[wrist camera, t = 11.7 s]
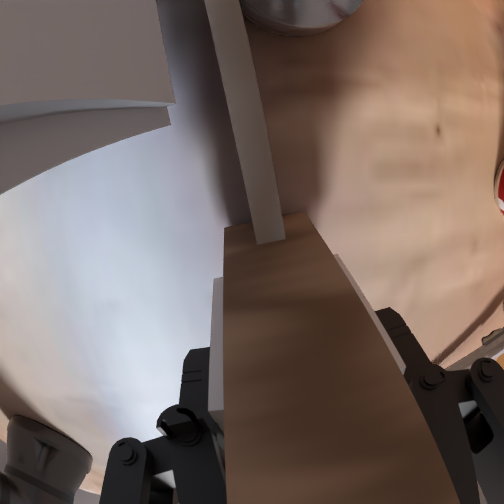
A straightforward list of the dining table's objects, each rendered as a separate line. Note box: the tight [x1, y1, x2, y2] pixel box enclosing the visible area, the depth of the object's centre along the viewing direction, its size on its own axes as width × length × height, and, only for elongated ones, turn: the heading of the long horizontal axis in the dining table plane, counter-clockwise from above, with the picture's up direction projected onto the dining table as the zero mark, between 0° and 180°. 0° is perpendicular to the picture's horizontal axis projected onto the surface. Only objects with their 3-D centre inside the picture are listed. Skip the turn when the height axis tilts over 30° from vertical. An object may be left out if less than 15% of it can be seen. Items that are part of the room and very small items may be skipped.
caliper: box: [445, 303, 504, 371], centre depth 21 cm, size 20×1×6 cm, turn 133°
